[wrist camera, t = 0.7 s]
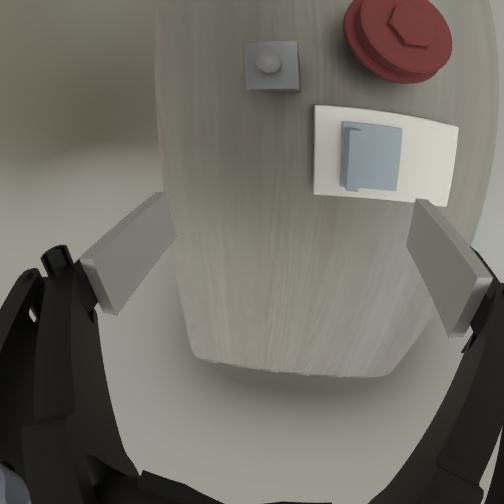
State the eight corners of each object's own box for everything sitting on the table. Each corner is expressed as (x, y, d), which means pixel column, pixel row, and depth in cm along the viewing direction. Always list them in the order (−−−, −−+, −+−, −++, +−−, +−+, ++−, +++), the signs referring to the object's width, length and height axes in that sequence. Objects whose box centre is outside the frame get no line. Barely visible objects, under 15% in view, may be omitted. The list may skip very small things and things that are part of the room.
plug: (264, 61, 26) (236, 38, 14) (299, 60, 25) (295, 35, 14) (266, 92, 28) (239, 89, 17) (300, 92, 27) (298, 87, 16)
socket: (313, 104, 28) (315, 105, 25) (443, 122, 25) (458, 127, 22) (313, 183, 33) (313, 194, 30) (434, 194, 30) (446, 206, 27)
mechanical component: (407, 15, 18) (420, 87, 23) (328, 10, 21) (343, 85, 26) (450, -13, 8) (473, 90, 13) (339, -31, 11) (365, 79, 16)
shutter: (342, 121, 25) (347, 124, 22) (400, 128, 24) (412, 132, 21) (339, 184, 28) (343, 195, 25) (394, 189, 27) (403, 200, 24)
